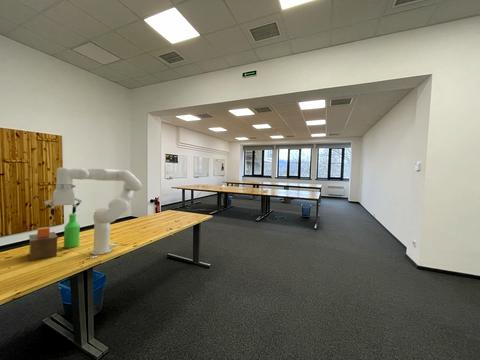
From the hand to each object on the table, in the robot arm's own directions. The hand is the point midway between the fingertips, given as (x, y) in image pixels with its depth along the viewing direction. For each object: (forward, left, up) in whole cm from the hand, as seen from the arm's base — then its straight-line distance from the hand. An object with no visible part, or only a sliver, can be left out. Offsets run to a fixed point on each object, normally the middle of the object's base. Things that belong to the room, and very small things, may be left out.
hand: (63, 214), depth 123 cm
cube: (+7, -22, -17) cm, 29 cm away
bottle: (-9, -30, -31) cm, 44 cm away
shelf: (+7, -22, -30) cm, 38 cm away
